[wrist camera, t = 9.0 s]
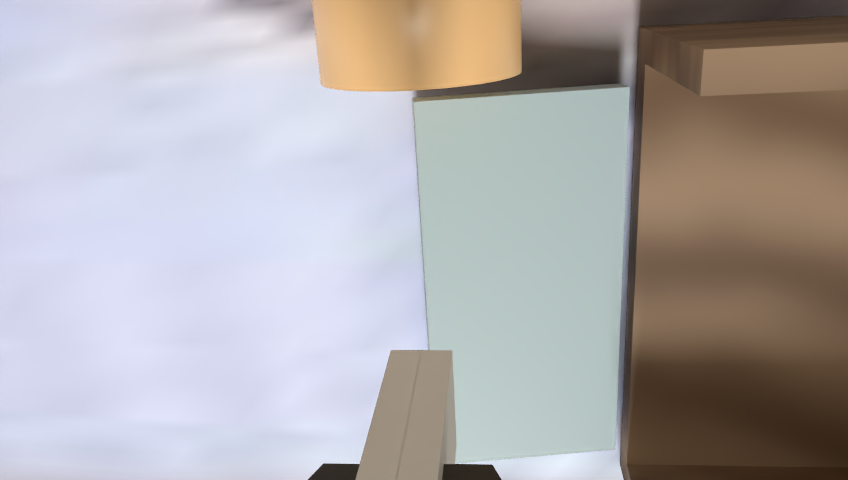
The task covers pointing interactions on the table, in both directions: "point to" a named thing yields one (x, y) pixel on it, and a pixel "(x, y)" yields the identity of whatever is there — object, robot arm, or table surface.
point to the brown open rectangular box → (739, 254)
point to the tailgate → (526, 262)
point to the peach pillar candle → (416, 43)
